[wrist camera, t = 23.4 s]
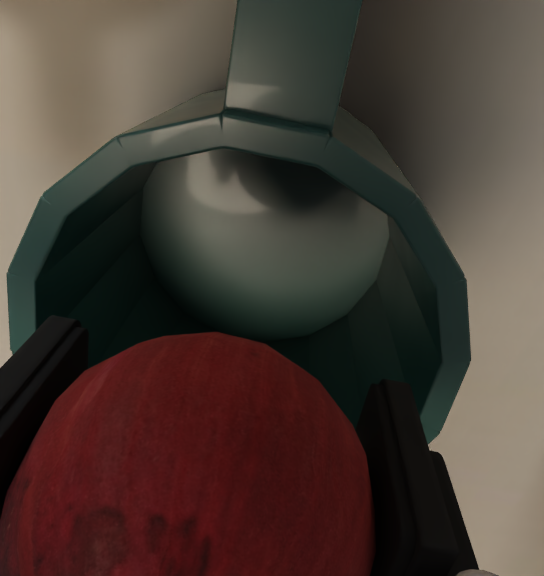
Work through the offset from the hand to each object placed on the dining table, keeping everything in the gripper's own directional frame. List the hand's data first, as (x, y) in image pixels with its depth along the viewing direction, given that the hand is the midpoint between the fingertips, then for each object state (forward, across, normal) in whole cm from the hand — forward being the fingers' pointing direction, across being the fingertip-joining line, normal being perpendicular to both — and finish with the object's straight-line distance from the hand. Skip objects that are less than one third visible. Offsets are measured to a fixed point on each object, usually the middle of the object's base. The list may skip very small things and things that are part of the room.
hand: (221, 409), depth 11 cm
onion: (+1, 0, 0) cm, 1 cm away
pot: (+12, 0, 0) cm, 12 cm away
